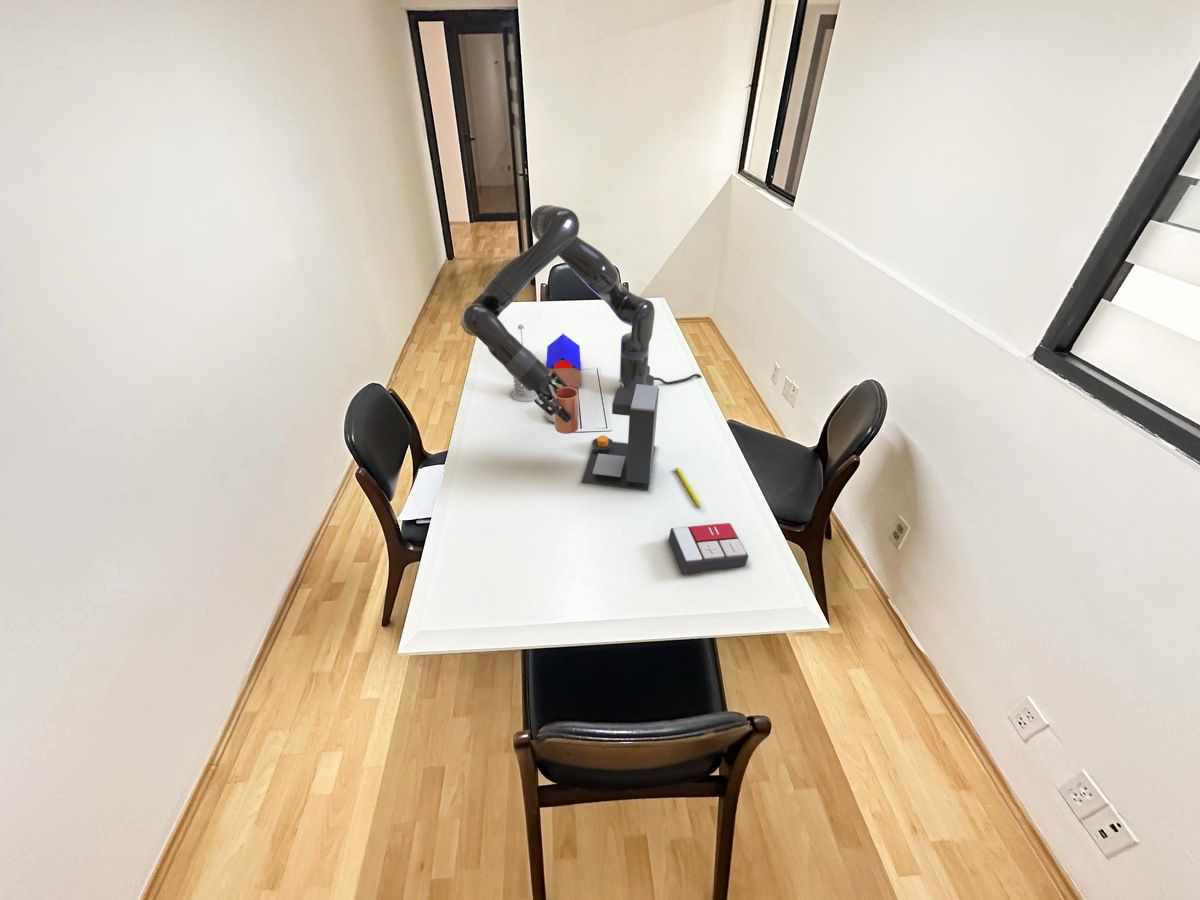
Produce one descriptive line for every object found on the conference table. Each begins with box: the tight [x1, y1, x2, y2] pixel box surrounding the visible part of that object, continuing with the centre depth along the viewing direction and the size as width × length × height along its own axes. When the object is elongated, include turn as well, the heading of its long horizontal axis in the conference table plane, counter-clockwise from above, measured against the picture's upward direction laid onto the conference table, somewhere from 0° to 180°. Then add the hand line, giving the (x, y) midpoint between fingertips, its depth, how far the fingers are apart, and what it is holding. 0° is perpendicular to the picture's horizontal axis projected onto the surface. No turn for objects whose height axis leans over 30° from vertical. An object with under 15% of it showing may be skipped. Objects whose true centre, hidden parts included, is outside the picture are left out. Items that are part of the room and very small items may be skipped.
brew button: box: [596, 434, 609, 447], centre depth 151 cm, size 3×3×2 cm
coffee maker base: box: [581, 437, 656, 492], centre depth 147 cm, size 18×20×3 cm
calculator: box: [668, 522, 749, 575], centre depth 120 cm, size 11×4×15 cm
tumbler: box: [553, 387, 580, 435], centre depth 137 cm, size 6×6×10 cm
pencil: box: [675, 467, 702, 509], centre depth 139 cm, size 16×1×1 cm, turn 14°
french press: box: [511, 324, 538, 402], centre depth 173 cm, size 10×12×25 cm
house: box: [545, 333, 582, 388], centre depth 188 cm, size 12×20×12 cm, turn 3°
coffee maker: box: [592, 384, 660, 485], centre depth 136 cm, size 15×12×23 cm
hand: (572, 413), depth 137 cm, fingers closed on tumbler, 6 cm apart
